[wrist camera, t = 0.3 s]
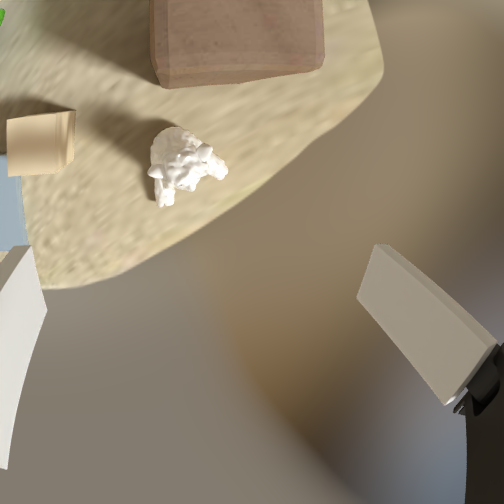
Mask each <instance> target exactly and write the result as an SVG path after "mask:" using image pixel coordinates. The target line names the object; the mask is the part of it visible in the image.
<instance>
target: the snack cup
mask: <svg viewBox="0 0 504 504" xmlns="http://www.w3.org/2000/svg"><path fill="white" fill-rule="evenodd" d="M4 15H5V10H4V9H0V26H1V24H2V21H3V18H4Z"/></svg>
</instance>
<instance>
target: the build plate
mask: <svg viewBox="0 0 504 504" xmlns="http://www.w3.org/2000/svg"><path fill="white" fill-rule="evenodd" d="M24 245H29V243H28V238H27V231H26V225H25V218H24V210H23V201H22V191H21V179H20V176H11V177H8V167H7V153H3V154H0V251H10V250H11V249H12V248H13V246H24Z"/></svg>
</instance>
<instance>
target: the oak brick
mask: <svg viewBox="0 0 504 504" xmlns="http://www.w3.org/2000/svg"><path fill="white" fill-rule="evenodd" d="M75 114H76V110H73V111H61V112H50V113H41V114H33V115H27V116H22V117H17V118H13V119H8V120H7V167H8V177H11V176H23V175H37V174H55V173H57V172H58V171H59V170H61V169H62V168H63V167H65V166H66V165H67V164H69V163H70V162H71V161H73V160H74V134H75Z"/></svg>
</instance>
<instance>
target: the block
mask: <svg viewBox="0 0 504 504" xmlns="http://www.w3.org/2000/svg"><path fill="white" fill-rule="evenodd" d="M149 30H150V61H151V64H152V66H153V68H154V71H155V73H156V76H157V78H158V81H159V83H160V85H161V87H162V88H165V89H175V88H184V87H194V86H206V85H220V84H240V83H245V82H250V81H255V80H260V79H265V78H271V77H277V76H284V75H290V74H298V73H306V72H311V71H314V70H316V69H319V68H320V67H321V66H322V64H323V61H324V58H325V47H324V24H323V7H322V0H149Z"/></svg>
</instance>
